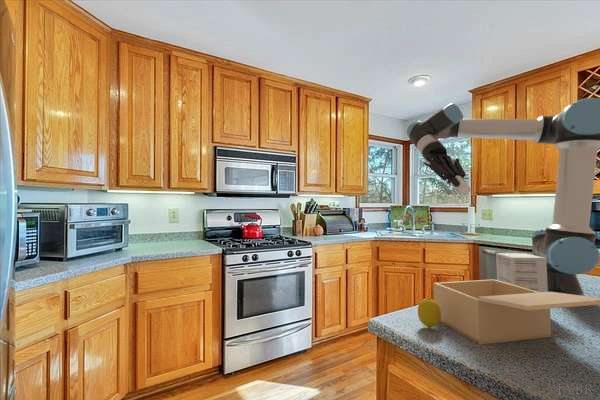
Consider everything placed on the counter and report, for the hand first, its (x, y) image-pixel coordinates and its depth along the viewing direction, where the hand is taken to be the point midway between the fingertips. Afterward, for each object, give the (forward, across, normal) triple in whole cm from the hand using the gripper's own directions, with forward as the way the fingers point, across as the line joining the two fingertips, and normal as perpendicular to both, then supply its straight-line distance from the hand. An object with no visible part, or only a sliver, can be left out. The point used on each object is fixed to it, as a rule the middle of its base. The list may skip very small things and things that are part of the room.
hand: (466, 192), depth 90 cm
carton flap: (+33, +5, -4) cm, 33 cm away
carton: (+34, +5, -17) cm, 38 cm away
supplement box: (+28, -15, -23) cm, 39 cm away
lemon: (+33, +20, -19) cm, 43 cm away
